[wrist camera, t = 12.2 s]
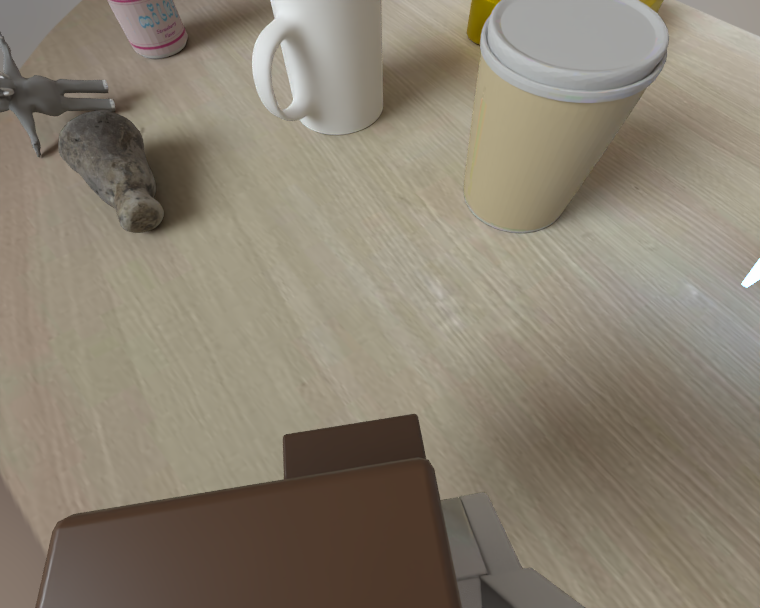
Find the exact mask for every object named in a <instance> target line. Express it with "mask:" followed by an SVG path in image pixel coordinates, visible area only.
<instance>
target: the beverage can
mask: <svg viewBox="0 0 760 608" xmlns="http://www.w3.org/2000/svg"><path fill="white" fill-rule="evenodd" d="M107 1H108V3H109V5H110V7H111V8H112V10H113V12H114V14H115V16H116V18H117V19H118V21H119V23H120V25H121V27H122V29H123V31H124V32H125V34H126V36H127V38H128V40H129V42H130V43H131V45H132V47H133V49H134V50H135V52H137V53H138V54H141V55H142V56H144V57H147V58H155V59H156V58H164V57H168V56H171V55H174V54H176V53H178V52H179V51H181V50H182V49H183V48H184V47H185V45H186V41H187V39H188V35H187V33H186V30H185V28H184V26H183V23H182V21H181V18H180V16H179V14H178V11H177V9H176V7H175V4H174V2H173V0H107Z"/></svg>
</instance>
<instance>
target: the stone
mask: <svg viewBox="0 0 760 608" xmlns="http://www.w3.org/2000/svg"><path fill="white" fill-rule="evenodd" d="M59 153H60V156H61V157H62V158H63V159H64V160H65V161H66V163H67V164H68V165H69V166H70V167H71V168H72V169H73V170H74V171H76V172H77V173H79V174H80V175H81V176H82V177H83V179H84V180H85V181H86V183H87V184H88V185H89V186H90V187H91V188H92V190H93V191H94V192H95V193H96V194H97V195H98V196H99V197H100V198H101V199H102V200H103V201H105V202H106V203H107V204H108V205H110V206H112V207H114V208H115V209H116V211H117V215H118V219H119V222H120V224H121V226H122V227H123V228H124V229H125V230H126V231H129V232H134V233H141V232H147V231H150V230H152V229H154V228H155V227H157V226H158V225H159V224H160V223H161V221H162V219H163V215H164V211H163V208H162V206H161V204H160V203H159V202H158V201H157V200H155V199H154V196H155V193H156V183H155V179H154V176H153V173H152V171H151V169H150V168H149V165H148V163H147V160H146V157H145V153H144V143H143V138H142V135H141V133H140V131H139V130H138V129H137V128H136V127H135V125H134V124H133V123H132V122H131V121H130V120H128V119H127V118H125V117H123V116H121V115H119V114H116V113H113V112H110V111H107V110H96V111H92V112H87V113H84V114H81V115H79V116H77V117H76V118H74V119H72V120H71V121H69V122H68V123H67V124H66V125H65V126H64V128H63V129H62V131H61V133H60V135H59Z"/></svg>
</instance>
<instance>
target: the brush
mask: <svg viewBox="0 0 760 608" xmlns="http://www.w3.org/2000/svg"><path fill="white" fill-rule="evenodd" d="M283 461H284V480H278V481H272V482H266V483H259V484H253V485H247V486H241V487H235V488H229V489H223V490H217V491H211V492H205V493H199V494H193V495H187V496H181V497H175V498H169V499H163V500H157V501H150V502H144V503H138V504H132V505H126V506H120V507H114V508H108V509H102V510H96V511H90V512H84V513H78V514H73V515H71V516H69V517H67V518H65V519H63V520H61V521H59V522H58V523H57V524H56V526H55V528H54V530H53V532H52V536H51V540H50V545H49V549H48V554H47V558H46V563H45V567H44V572H43V576H42V581H41V585H40V589H39V594H38V599H37V603H36V607H35V608H462V605H461V600H460V595H459V590H458V585H457V580H456V575H455V570H454V565H453V560H452V555H451V550H450V545H449V540H448V535H447V530H446V525H445V520H444V515H443V510H442V505H441V501H440V496H439V491H438V486H437V481H436V476H435V471H434V468H433V466H432V465H431V463H430V462H429V460H427V459H426V456H425V451H424V445H423V440H422V435H421V430H420V425H419V420H418V416H417V414H410V415H404V416H398V417H391V418H385V419H379V420H373V421H366V422H360V423H354V424H348V425H341V426H335V427H329V428H323V429H317V430H310V431H304V432H298V433H292V434H286V435H284V437H283Z"/></svg>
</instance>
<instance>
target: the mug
mask: <svg viewBox="0 0 760 608" xmlns="http://www.w3.org/2000/svg"><path fill="white" fill-rule="evenodd" d="M270 1H271V5H272V9H273V14H274V18H275V19H274V20H273V21H272V22H271V23H270V24H268V25H267V26H266V27H265V28H264V29H263V31H262V32H261V33H260V35H259V37H258V38H257V41H256V43H255V46H254V50H253V57H252V69H253V77H254V82H255V86H256V90H257V92H258V95H259V97H260V99H261V101H262V103H263V104H264V106H265V107H266V108H267V109H268V110H269V111H270V112H271V113H272V114H274V115H275V116H277V117H279V118H281V119H283V120H287V121H297V120H300V121H301V122H302V123H303V124H304V125H305V126H306V127H308V128H309V129H311V130H313V131H316V132H319V133H323V134H330V135H342V134H349V133H354V132H357V131H360V130H362V129H364V128H366V127H368V126H370V125H371V124H372V123H374V122H375V121H376V120H377V119H378V118H379V116H380V115H381V113H382V110H383V69H382V17H381V0H270ZM280 44H281V48H282V52H283V57H284V61H285V65H286V70H287V74H288V78H289V82H290V87H291V91H292V95H293V101H292V103H291V105H290V106H289V107H288V108H286V109H284V110H282V109H281V108H280V106H279V105H278V103H277V100H276V98H275V94H274V91H273V86H272V75H271V71H272V61H273V57H274V54H275V52H276V49H277V48H278V46H279V45H280Z"/></svg>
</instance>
